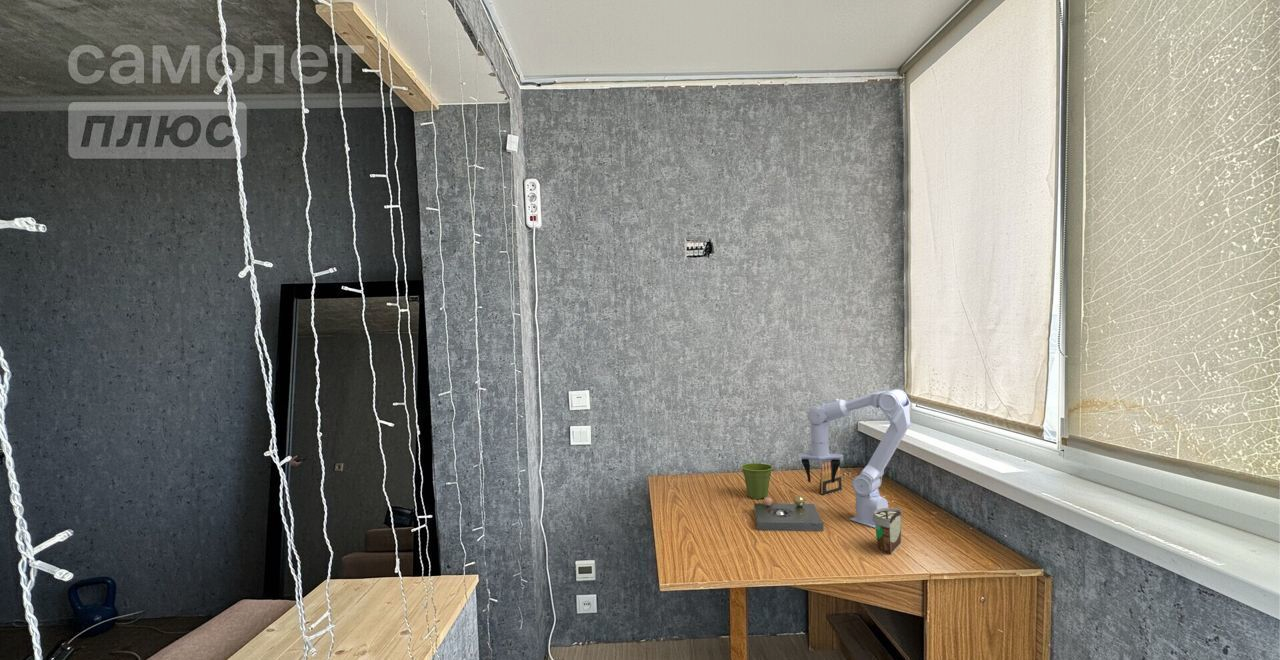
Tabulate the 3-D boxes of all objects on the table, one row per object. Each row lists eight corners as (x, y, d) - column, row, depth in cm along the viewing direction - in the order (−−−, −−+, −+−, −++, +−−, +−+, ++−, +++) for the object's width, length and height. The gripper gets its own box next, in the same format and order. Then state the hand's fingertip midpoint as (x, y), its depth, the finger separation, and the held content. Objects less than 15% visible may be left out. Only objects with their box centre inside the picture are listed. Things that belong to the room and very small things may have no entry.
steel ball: (772, 511, 194) (773, 520, 194) (781, 512, 192) (781, 522, 192) (778, 508, 197) (779, 517, 197) (786, 510, 194) (787, 519, 194)
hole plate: (813, 511, 202) (813, 503, 202) (823, 531, 183) (823, 523, 183) (754, 510, 205) (754, 503, 205) (758, 530, 186) (757, 522, 186)
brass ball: (807, 506, 200) (807, 495, 200) (799, 508, 198) (799, 497, 198) (799, 503, 203) (798, 493, 203) (791, 505, 201) (791, 495, 201)
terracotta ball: (774, 506, 201) (774, 497, 201) (767, 507, 200) (767, 499, 200) (768, 503, 204) (767, 495, 204) (761, 505, 202) (761, 496, 202)
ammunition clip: (823, 495, 219) (822, 463, 219) (819, 494, 221) (818, 462, 220) (842, 489, 225) (841, 458, 225) (837, 488, 227) (837, 457, 226)
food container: (880, 537, 176) (880, 504, 176) (902, 542, 173) (901, 508, 172) (866, 551, 167) (865, 516, 167) (889, 556, 163) (888, 520, 163)
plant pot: (777, 501, 214) (776, 470, 214) (744, 501, 215) (743, 471, 214) (770, 491, 226) (769, 462, 226) (739, 492, 226) (738, 463, 226)
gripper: (798, 444, 198) (799, 484, 198) (844, 444, 195) (845, 485, 195) (797, 439, 205) (798, 478, 205) (840, 439, 202) (842, 479, 202)
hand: (820, 481), depth 201 cm, fingers open, 7 cm apart
